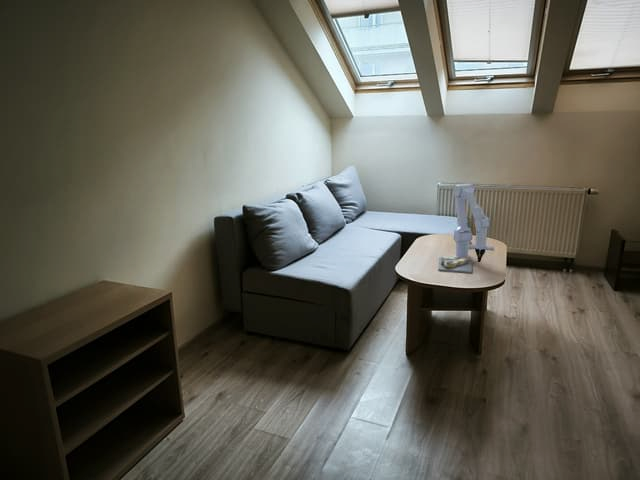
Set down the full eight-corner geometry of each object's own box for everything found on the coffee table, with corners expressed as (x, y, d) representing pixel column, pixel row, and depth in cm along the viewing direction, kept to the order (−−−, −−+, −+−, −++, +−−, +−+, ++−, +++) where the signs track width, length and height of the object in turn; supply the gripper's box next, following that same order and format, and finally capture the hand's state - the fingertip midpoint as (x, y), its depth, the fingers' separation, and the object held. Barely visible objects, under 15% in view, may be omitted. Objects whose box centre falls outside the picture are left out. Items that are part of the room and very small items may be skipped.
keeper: (440, 263, 258) (441, 256, 257) (452, 264, 257) (452, 257, 256) (440, 264, 256) (440, 257, 255) (452, 265, 254) (452, 258, 253)
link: (448, 268, 249) (448, 263, 248) (443, 266, 252) (443, 262, 251) (468, 262, 259) (469, 257, 258) (463, 260, 262) (464, 256, 261)
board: (439, 259, 269) (439, 257, 269) (470, 261, 264) (470, 259, 264) (438, 270, 249) (438, 269, 249) (472, 273, 245) (472, 271, 244)
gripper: (467, 239, 251) (466, 262, 255) (495, 241, 248) (493, 264, 251) (467, 236, 258) (465, 259, 262) (494, 238, 254) (492, 260, 258)
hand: (479, 261), depth 257 cm, fingers closed
